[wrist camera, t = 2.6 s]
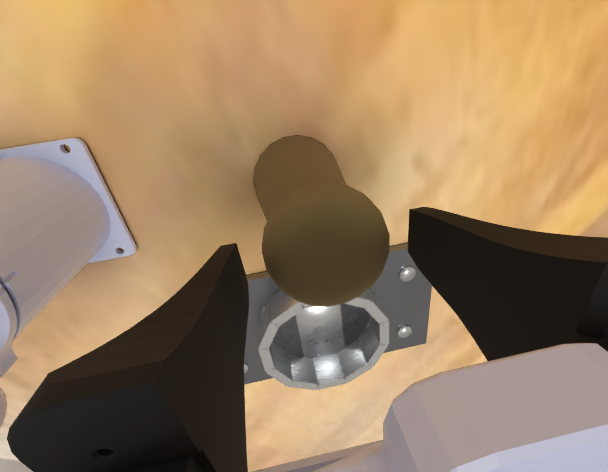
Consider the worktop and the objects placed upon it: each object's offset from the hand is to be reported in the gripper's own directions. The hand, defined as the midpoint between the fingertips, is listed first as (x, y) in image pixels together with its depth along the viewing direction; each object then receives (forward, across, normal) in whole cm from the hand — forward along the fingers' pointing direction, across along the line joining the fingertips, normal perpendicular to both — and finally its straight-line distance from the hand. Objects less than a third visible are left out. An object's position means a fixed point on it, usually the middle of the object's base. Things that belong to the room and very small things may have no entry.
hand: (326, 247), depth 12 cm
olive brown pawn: (+10, 0, 0) cm, 10 cm away
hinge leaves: (+9, 0, +13) cm, 16 cm away
